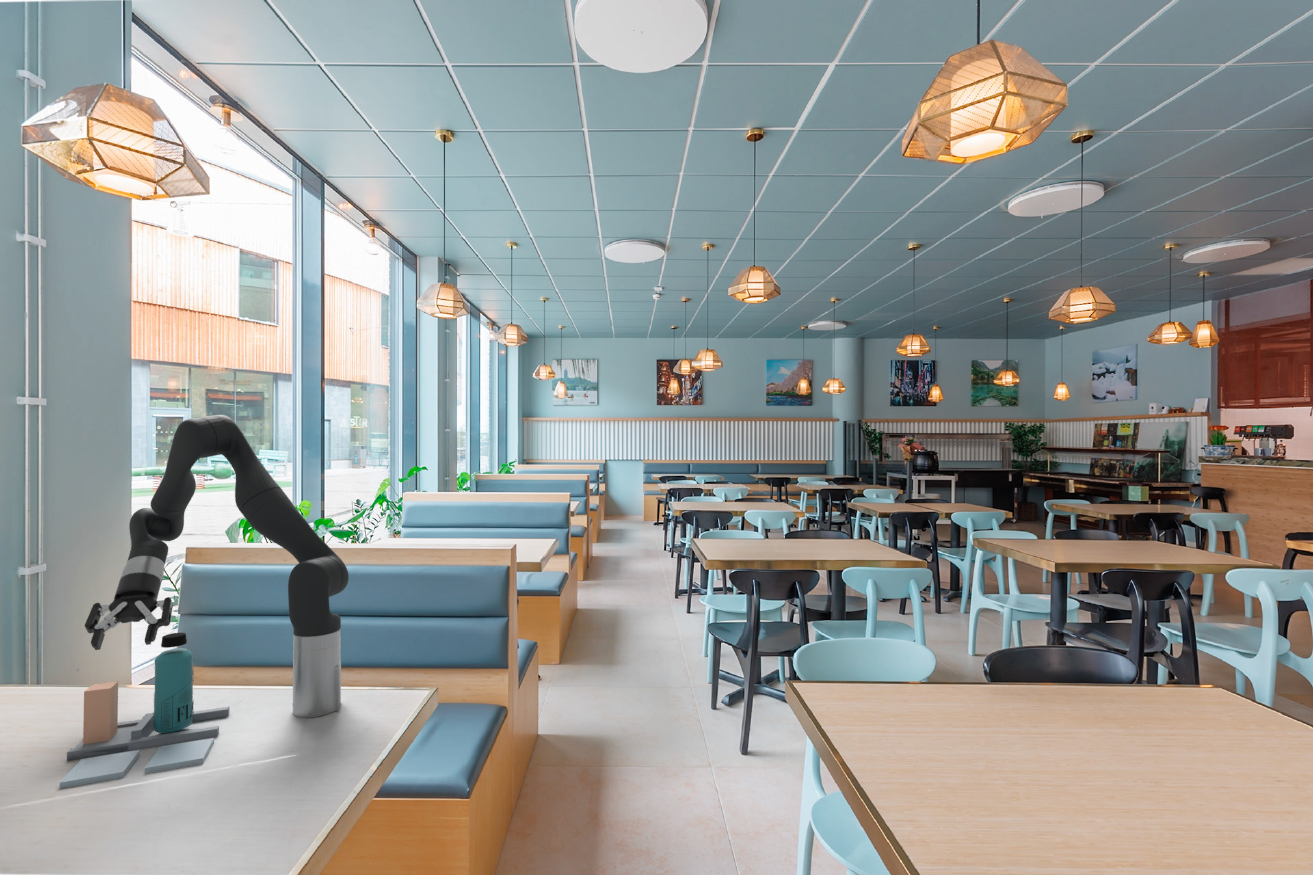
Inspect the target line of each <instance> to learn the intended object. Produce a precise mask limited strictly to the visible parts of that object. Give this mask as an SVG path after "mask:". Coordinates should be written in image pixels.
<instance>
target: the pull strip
mask: <svg viewBox="0 0 1313 875" xmlns="http://www.w3.org/2000/svg"><path fill="white" fill-rule="evenodd" d="M118 704H119V681H111V682H103V683H94V684H91V685H89V687H88V688H86V689H85V690H84V691H83V731H82V732H83V733H82V734H83V735H82V739H81V740H80V741H79V742H78V743H77V744H76V745H75V747H73V748H71V747H70V749H69V750H68V751H67V752H66V761H72V760H79V759H80V760H81V759H86V758H92V757H98V756H104V755H110V754H117V753H123V752H129V751H135V750H143V749H147V748H152V747H153V748H154V747H160V746H166V745H173V744H179V743H185V742H191V741H197V740H204V739H210V738H216V737H218V736H219V734H220V725H215V726H208V727H201V728H195V729H189V730H182V731H181V730H180V731H174V732H168V733H161V734H157V735H151V733H152V732H153V731H155V729H154V726H153V725H154V718H153V717H154V716H153V715H154V712H151V713H145V714H144V716H143V717H142V718H141V719H133V720H126V721H121V722H120V721H118V720H119V718H118V714H119V713H118V712H119V711H118V710H119V705H118ZM193 713H194V714H193V715H194V716H193V720H192V723H193V722H198V721H204V720H212V719H218V718H225V717H229V716H230V706H223V707H216V708H210V709H202V710H196V711H193Z"/></svg>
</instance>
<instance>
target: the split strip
mask: <svg viewBox="0 0 1313 875" xmlns="http://www.w3.org/2000/svg"><path fill="white" fill-rule="evenodd" d="M214 744H215V737H211V738H204V739H198V740H192V741H186V742H179V743H173V744H167V745H161V746H158V748H157V750H156V751H155V753H154V754H153V756H152V757H151V759H150V760H149V762H148V763H147V764H146V765H145V767H144V774H151V773H155V772H156V773H157V772H162V771H166V770H174V769H179V768H184V767H190V766H196V765H201V764H204V762H205V761H206V759H207V757H208V755H209V754H210V751H211V749H212V747H213V746H214ZM140 756H141V749H136V750H130V751H123V752H117V753H111V754H105V755H98V756H92V757H86V758H80V760H79V761H78V762H77V763H76V765H75V766H74V767H73V768H72V769H71V770H70V771H69V772H68V773H67V774H65V776H64V777H63V778H62V779H61V780H60V782H59V789H64V788H68V787H76V786H81V785H87V784H92V783H98V782H104V781H109V780H115V779H116V780H117V779H120V778H121V779H123V778H124V777H125V776H126V774H127V773H129V771H130V769H131V768H132V767H133V766H134V764H135V762H136V761H137V760H138V758H139V757H140Z"/></svg>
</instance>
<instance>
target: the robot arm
mask: <svg viewBox="0 0 1313 875" xmlns="http://www.w3.org/2000/svg"><path fill="white" fill-rule="evenodd" d="M220 455H221V456H223V457H224V458H225V459H226V460H227V461H228V462H229V464H230V466H231V468H232V469H233V471H234V473H235V475H234V476H235V487H234V499H235V505H236V507H237V509H238V510H239V512H240V513H241V515H243V517H244V519H245V520H246V521H247V522H248V523H249V525H250V526H251V527H252V528H253V530H255V531H256V532H258V533H259V534H261V536H264V537H265V538H266V539H267V540H269V541H271V542H273V543H275V544H276V545H278V546H280V547H281V548H283V549H285V550H286V551H287V552H288V553H290V554H291V555H292V556H293V557H294V559H295V560H296V561H297V562H298V563H297V564H296V565H295V566H294V567H293V568H292V570H291V571H290V574H289V577H288V581H287V582H288V584H287V597H288V616H289V621H290V623H291V625H292V628H293V629H292V630H293V640H292V652H293V653H292V665H293V666H292V715H293V716H294V717H297V718H306V719H307V718H315V717H321V716H324V715H328V714H330V713H334V712H337V711H341V710H340V708H341V701H342V700H341V698H342V697H341V695H342V693H341V691H342V688H341V687H342V686H341V684H342V682H341V681H342V680H341V679H342V678H341V677H342V676H341V675H342V659H341V640H342V639H341V635H342V634H341V630H342V628H341V627H342V626H341V624H342V620H341V616H340V615H339V614H337V613H333V612H331V609H330V597H333V596H335V595H338V594H340V593H342V592H343V591H344V590H345V589H346V587H347V586H348V583H349V577H350V576H349V571H348V567H347V565H346V564H345V562H344V561H343V559H341V557H340V556H338V555H337V554H336V553H335V551H333V550H332V548H331V547H329V545H328V544H327V543H326V542H325V541H324V540H323V539H322V538H321V537H320V536H319V535H318V534H317V532H315V531H314V529H313V528H312V527H311V524H309V522H307V520H306V519H305V518H304V516H303V515H302V514H301V513H300V512H299V510H298V509H297V508H296V506H295V505H294V503H293V502H292V500H291V499H290V498H289V497H288V495H287V493H285V492H284V490H283V489H282V488H281V487H280V485H279V484H278V483H277V482H276V480H274V477H272V476H271V474H270V473H269V472H268V470H267V468H266V467H265V466H264V464H263V463H262V462H261V460H260V459H259V458H258V457H257V455H256V453H255V452H254V450H253V448H252V446H251V445H250V443H249V441H248V440H247V438H246V437H245V435H244V433H243V432H242V430H241V429H240V427H239V426H238V424H236V422H235V421H234V420H233V419H232V418H230V417H229V416H227V415H225V414H214V415H213V414H211V415H207V416H199V417H192V418H188V419H185V420H183V421H182V422H180V424H178V426H177V428H176V429H175V433H174V435H173V439H172V443H171V446H170V451H169V454H168V459H167V463H166V468H165V471H164V474H163V476H162V478H161V481H160V482H159V485H158V487H157V488H156V490H155V492H154V494H153V496H152V498H151V501H150V507H142V508H140V509H137V510H136V511H135V512H134V513H133V514H132V515H131V518H130V519H129V527H128V528H129V536H130V552H129V554H128V558H127V561H126V564H125V565H124V567H123V570H122V572H121V576H120V578H119V582H118V585H117V588H116V592H115V595H114V598H113V601H112V602H110V603H109V604H101V603H100V602H96V603H94V604H92V607H91V609H90V612H89V614H88V617H87V618H86V621H85V623H84V628H85V630H86V631H87V633H88V634H92V637H91V640H90V645H91V646H92V649H94V650H95V651H99V650H101V649H102V644H103V641H104V638H105V633H106V632H108V631H109V630H110V629H113V628H115V627H116V626H118V625H119V624H120V623H121V624H127V623H138V622H141V621H142V620H144V622H145V623H146V624H147V629H146V633H145V636H144V643H145V645H146V646H148V645H150V646H151V645H152V643H153V642H155V641H156V638H157V634H158V632H159V631H158V630H159V628H161V627H169V625H171V620H172V614H173V607H174V604H173V600H172V597H170V596H168V597H167V596H166V597H165V598H164V599H163V600H161V599H160V600H158V596H159V594H160V589H161V585H162V582H163V580H164V573H165V564H166V562H167V557H168V554H169V546H168V545H167V543H166V542H171V541H174V540H176V539H178V538H179V537H180V536H181V535H182V533H183V532H184V531H183V530H184V525H185V513H186V511H187V510H186V509H187V507H188V505H189V503H190V502H191V500H192V498H193V497H194V494H195V493H196V489H197V482H196V478H195V476H194V474H193V472H192V470H191V469H192V467H194V465H195V463H197V461H198V460H200V459H204V458H205V459H206V458H211V457H216V456H220ZM158 607H159V609H160V610H161V611H162V612H161V618H157V617H155V615H153V612H154V611H155V610H156V609H157V608H158ZM107 612H109V613H108V614H106V613H107ZM105 614H106V615H105ZM103 616H104V617H103ZM101 617H103V619H102V620H101V621H100V619H101Z"/></svg>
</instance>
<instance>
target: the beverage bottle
mask: <svg viewBox="0 0 1313 875" xmlns="http://www.w3.org/2000/svg"><path fill="white" fill-rule="evenodd" d="M187 641H188V639H187V633H186V632H172V633H168V634H165V635H163V636H162V637H161V644H160V647H161V648H163V649H164V648H166V649H167V650H164V651H162V652H161V653H160V654H159V655H158V656H156V657H155V659H154V692H153V700H152V701H153V705H152V706H153V713H154V715H153V716H154V717H153V718H154V725H153V726H154V732H156V733H158V734H168V733H175V732H179V731H181V730H184V729H186V728H188V727H190V726H191V725H192V723H193V722H192V720H193V716H194V715H193V714H194V713H193V712H194V704H195V703H194V698H193V697H194V694H193V693H194V689H193V688H194V680H195V678H194V666H193V664H194V663H193V662H194V660H193V659H194V658H193V657H194V653H193V652H192V651H191V650H190V649H188V648H183V647H182V648H181V646H183V645H186V644H187V643H188V642H187ZM175 647H180V648H175ZM169 648H173V649H169Z"/></svg>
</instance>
